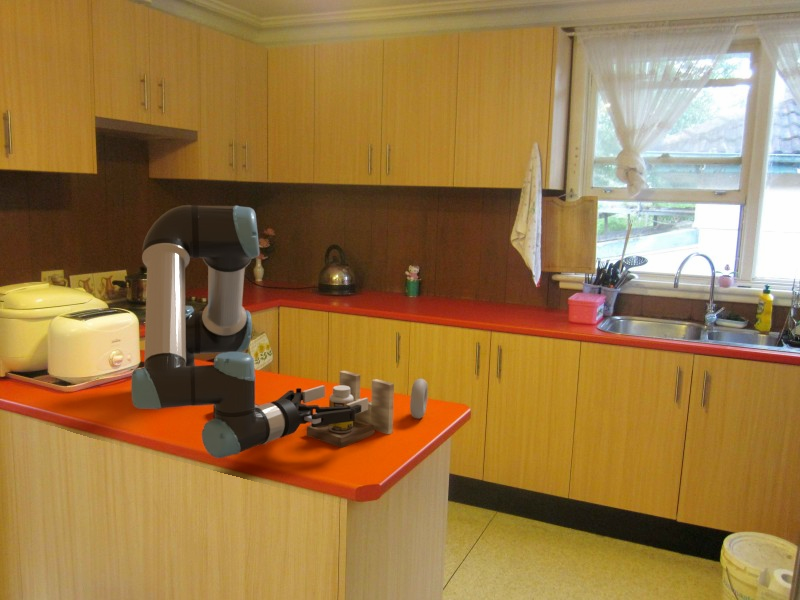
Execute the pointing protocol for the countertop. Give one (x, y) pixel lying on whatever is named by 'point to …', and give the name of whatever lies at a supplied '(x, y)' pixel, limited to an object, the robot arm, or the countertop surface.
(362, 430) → the square tray
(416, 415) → the donut
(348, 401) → the supplement bottle
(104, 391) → the countertop surface
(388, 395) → the notched board
